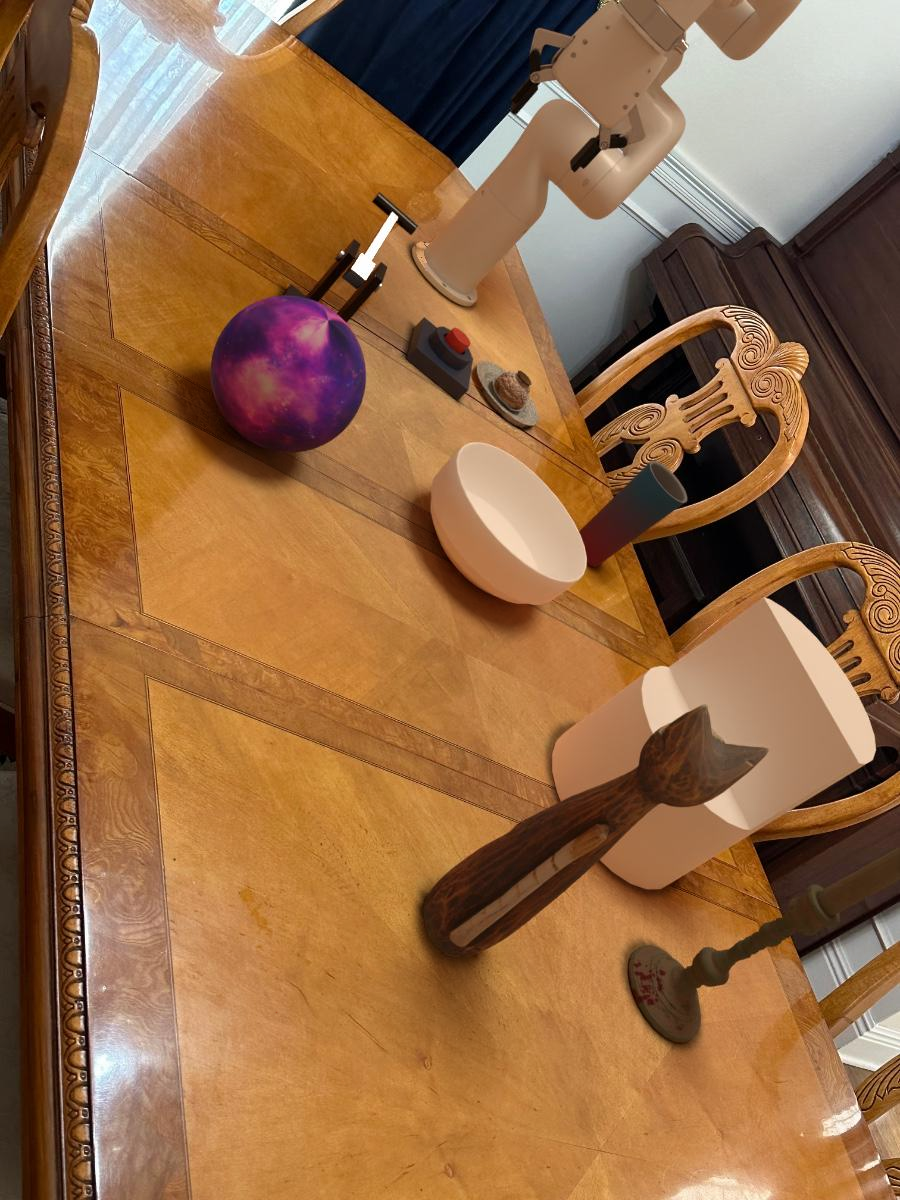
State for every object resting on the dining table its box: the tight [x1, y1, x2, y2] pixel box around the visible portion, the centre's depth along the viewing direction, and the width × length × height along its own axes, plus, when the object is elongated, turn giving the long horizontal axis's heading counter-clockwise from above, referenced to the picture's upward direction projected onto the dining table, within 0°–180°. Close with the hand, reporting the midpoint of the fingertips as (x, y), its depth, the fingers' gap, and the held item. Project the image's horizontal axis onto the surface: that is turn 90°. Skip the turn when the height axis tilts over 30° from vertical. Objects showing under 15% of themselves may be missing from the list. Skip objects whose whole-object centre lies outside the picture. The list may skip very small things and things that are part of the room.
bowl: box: [430, 441, 588, 606], centre depth 131 cm, size 20×20×8 cm
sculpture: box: [423, 705, 769, 958], centre depth 86 cm, size 7×9×30 cm
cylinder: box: [551, 596, 877, 890], centre depth 115 cm, size 19×19×25 cm
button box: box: [406, 316, 474, 401], centre depth 158 cm, size 10×9×4 cm
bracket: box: [282, 238, 389, 324], centre depth 136 cm, size 10×9×12 cm
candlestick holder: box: [628, 846, 900, 1044], centre depth 100 cm, size 9×9×30 cm
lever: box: [341, 191, 419, 290], centre depth 136 cm, size 12×6×2 cm
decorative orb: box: [210, 295, 367, 454], centre depth 114 cm, size 15×15×15 cm
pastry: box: [476, 360, 540, 428], centre depth 166 cm, size 12×12×5 cm
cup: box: [578, 460, 688, 568], centre depth 151 cm, size 7×7×15 cm
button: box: [444, 327, 471, 354], centre depth 156 cm, size 3×3×2 cm
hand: (542, 139), depth 137 cm, fingers open, 9 cm apart
